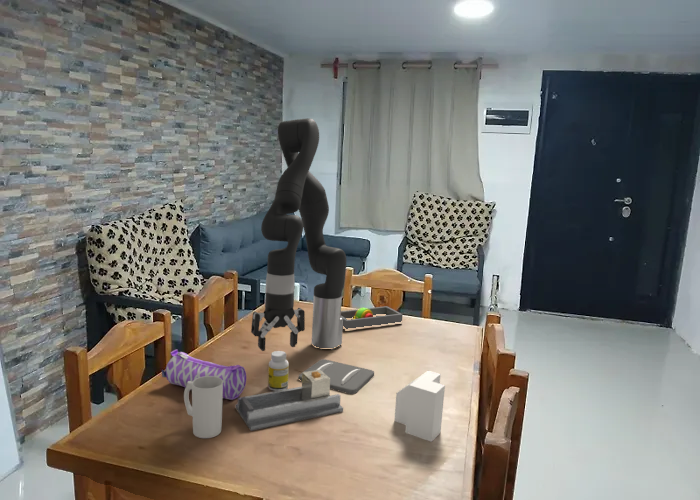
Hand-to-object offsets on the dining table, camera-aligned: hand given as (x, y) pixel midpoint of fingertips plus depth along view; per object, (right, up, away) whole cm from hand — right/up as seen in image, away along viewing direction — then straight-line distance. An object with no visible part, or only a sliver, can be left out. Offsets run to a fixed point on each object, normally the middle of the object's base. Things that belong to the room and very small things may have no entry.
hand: (277, 348), depth 146 cm
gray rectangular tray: (+26, -1, +60) cm, 65 cm away
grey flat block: (+16, -11, +11) cm, 22 cm away
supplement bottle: (0, -11, +2) cm, 12 cm away
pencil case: (-19, -11, -1) cm, 22 cm away
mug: (-15, -15, -21) cm, 30 cm away
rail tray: (+4, -14, -10) cm, 17 cm away
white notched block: (+36, -16, -14) cm, 42 cm away
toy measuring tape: (+27, -2, +61) cm, 67 cm away
